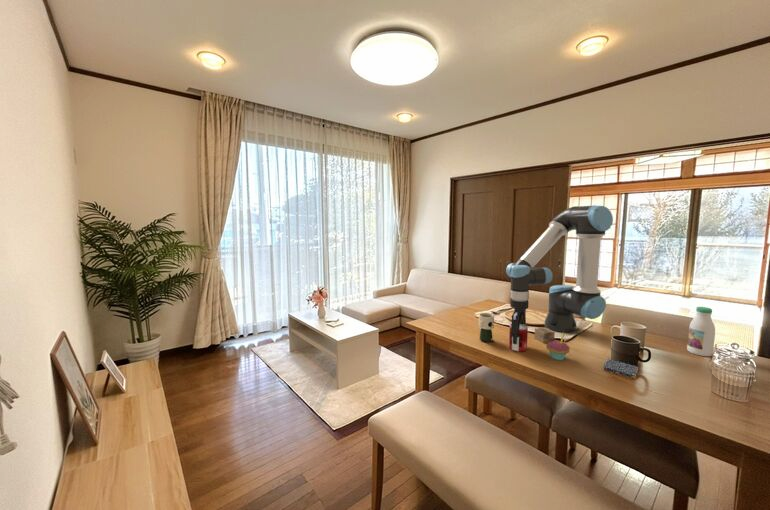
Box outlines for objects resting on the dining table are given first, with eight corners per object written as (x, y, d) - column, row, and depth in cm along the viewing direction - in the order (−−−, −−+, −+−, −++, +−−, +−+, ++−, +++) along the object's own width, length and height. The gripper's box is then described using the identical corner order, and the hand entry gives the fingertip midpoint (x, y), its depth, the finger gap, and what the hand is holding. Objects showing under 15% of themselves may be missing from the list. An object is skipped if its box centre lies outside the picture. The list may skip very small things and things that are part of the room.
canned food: (523, 344, 143) (524, 322, 141) (529, 352, 135) (530, 328, 134) (506, 344, 144) (507, 322, 142) (512, 352, 136) (512, 328, 134)
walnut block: (545, 337, 151) (545, 327, 150) (554, 341, 145) (554, 332, 145) (534, 338, 150) (534, 328, 149) (543, 343, 144) (543, 333, 143)
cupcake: (567, 355, 131) (568, 328, 130) (570, 364, 124) (571, 336, 122) (545, 352, 135) (546, 326, 133) (546, 360, 127) (547, 333, 126)
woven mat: (638, 370, 118) (639, 365, 118) (635, 381, 111) (636, 376, 110) (606, 361, 125) (606, 357, 125) (601, 371, 118) (601, 366, 118)
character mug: (487, 345, 143) (488, 319, 141) (474, 341, 148) (474, 316, 146) (497, 338, 151) (498, 313, 149) (484, 334, 156) (484, 310, 154)
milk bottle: (704, 349, 132) (709, 306, 129) (717, 357, 125) (722, 311, 122) (682, 347, 135) (687, 304, 132) (693, 355, 127) (698, 310, 125)
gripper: (517, 293, 147) (516, 337, 150) (503, 303, 131) (502, 352, 134) (534, 295, 142) (532, 341, 145) (521, 306, 126) (520, 357, 129)
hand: (518, 346), depth 139 cm, fingers closed on canned food, 8 cm apart
